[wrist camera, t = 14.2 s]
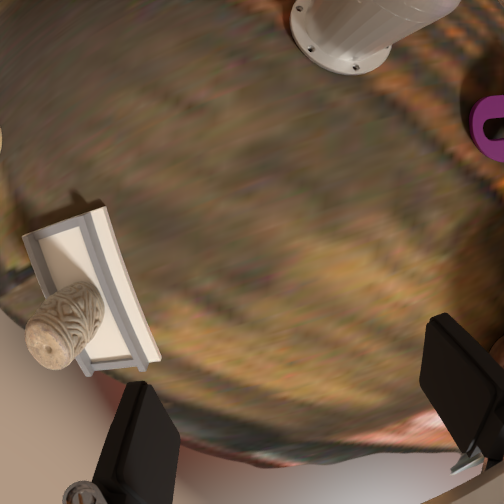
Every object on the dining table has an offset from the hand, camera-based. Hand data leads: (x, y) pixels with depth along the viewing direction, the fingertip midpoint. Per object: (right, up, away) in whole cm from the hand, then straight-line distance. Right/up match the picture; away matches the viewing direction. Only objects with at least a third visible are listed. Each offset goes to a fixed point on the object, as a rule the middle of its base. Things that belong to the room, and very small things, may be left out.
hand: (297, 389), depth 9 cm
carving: (-23, -2, +28) cm, 37 cm away
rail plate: (-23, -2, +29) cm, 37 cm away
